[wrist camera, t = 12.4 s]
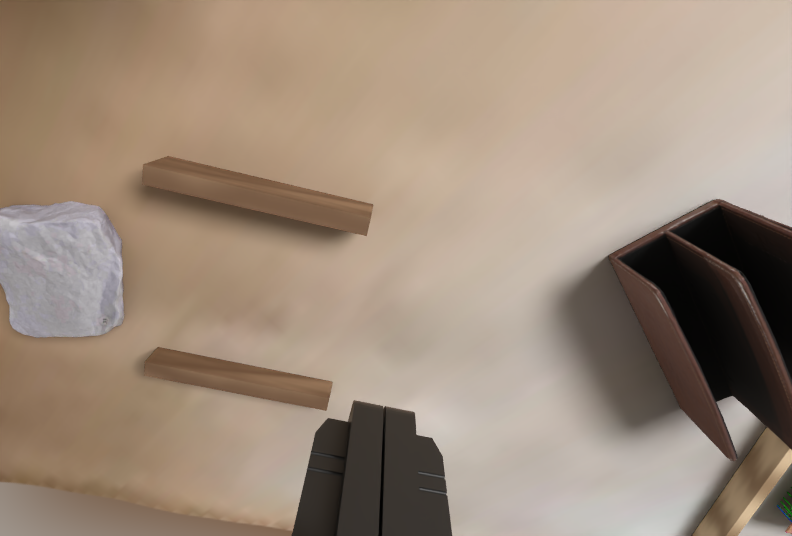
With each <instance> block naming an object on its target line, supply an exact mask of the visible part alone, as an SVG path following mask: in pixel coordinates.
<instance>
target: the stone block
mask: <svg viewBox="0 0 792 536" xmlns="http://www.w3.org/2000/svg"><path fill="white" fill-rule="evenodd" d="M122 267H123V263H122V239H121V238H120V237H119V236H118V234H117V232H116V230H115V228H114V226H113V225H112V223H111V222H110V220H109V218H108V216H107V215H106V214H105V212H104V211H103V210H102V209H101V208H100V207H99V206H95V205H88V204H83V203H79V202H73V201H69V202H65V203H59V204H57V203H55V204H52V205H50V206H41V205H12V206H10V207H5V208H0V284H1V285H2V287H3V289H4V291H5V293H6V299H7V302H8V304H9V306H10V317H9V320H10V324H11V326H12V328H13V329H15V330H16V331H18V332H20V333H22V334H24V335H29V336H34V337H38V338H39V337H83V336H97V335H102V334H105V333H107V332H109V331H110V330H112V329H113V328H114V327H116V326H120V325H121V324H122V322H123V319H124V305H123V291H124V290H123V281H122V278H123V270H122Z"/></svg>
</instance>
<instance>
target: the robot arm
mask: <svg viewBox="0 0 792 536" xmlns="http://www.w3.org/2000/svg"><path fill="white" fill-rule="evenodd" d="M444 477H445V473H444V465H443V456H442V455H441V453H440V451H439V449H438V448H437V446H436V444H435V442H434V441H433V439H432V438H429V437H424V436H418V435H416V422H415V413H414V412H411V411H406V410H401V409H396V408H391V407H386V406H385V407H384V409H383V406H380V405H375V404H370V403H365V402H360V401H355V400H354V401H353V404H352V408H351V412H350V416H349V420H348V422H345V421H340V420H335V419H330V418H328V419H327V420H326V421H325V422H324V423H323V425H322V426H321V427H320V428H319V429H318V430H317V431H316V433H315V438H314V442H313V446H312V451H311V455H310V459H309V464H308V468H307V472H306V477H305V481H304V486H303V490H302V494H301V499H300V503H299V507H298V512H297V516H296V520H295V525H294V529H293V533H292V536H452V531H451V522H450V514H449V506H448V498H447V496H446V493H447V489H446V481H445V479H444Z"/></svg>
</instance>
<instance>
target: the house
mask: <svg viewBox="0 0 792 536" xmlns="http://www.w3.org/2000/svg"><path fill="white" fill-rule="evenodd" d="M791 488H792V487H791ZM787 493H788V492H787ZM788 494H789V493H788ZM789 495H790V494H789ZM790 496H791V495H790ZM791 497H792V496H791ZM783 498H784V497H783ZM784 499H785V498H784ZM785 500H786V499H785ZM780 502H781V501H780ZM786 502H787V503H788V504H789V505H790V506H791V507H792V505H791V504H790V503H789V502H788V501H787V500H786ZM781 503H782V502H781ZM782 504H783V503H782ZM783 505H784V504H783ZM777 507H778V508H779V509H780V510H781V511H782V512H783V514H784V515H785V516H786V517H787V518H788V519H789V520H790V521H791V522H792V520H791V518H790V517H792V512H791V510H792V508H790V509H791V510H789V509H788V508H787V507H786V506H785V505H784V508H785V509H786V510H787V511H788V513H790V514H791V516H788V513H787V514H786V513H785V512H784V511H783V510H782V508H781V507H780V506H779V505H777ZM785 532H786V533H791V534H792V523H791V524H790V526H789V527H788V528H787V530H786V531H785Z"/></svg>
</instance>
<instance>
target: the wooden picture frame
mask: <svg viewBox="0 0 792 536" xmlns="http://www.w3.org/2000/svg"><path fill="white" fill-rule="evenodd" d="M791 463H792V450H791V449H790V448H789V447H788V446H787V445H786V444H785V443H784V442H783V441H782V440H781V439H780V438H778V437H777V436H776V435H775V434H774V433H773V432H772V431H771V430H770V429H769V428H768V427H767V428H766V429H765V430H764V432H763V433H762V435H761V436H760V438H759V439H758V441H757V442H756V443H755V445H754V446H753V448H752V449H751V451H750V452H749V454H748V455H747V456H746V458H745V459H744V461H743V462H742V464H741V465H740V467H739V468H738V469H737V471H736V472H735V474H734V475H733V477H732V478H731V480H730V481H729V482H728V484H727V485H726V487H725V488H724V490H723V491H722V493H721V494H720V496H719V497H718V498H717V500H716V501H715V503H714V504H713V506H712V507H711V509H710V510H709V511H708V513H707V514H706V516H705V517H704V519H703V520H702V522H701V523H700V524H699V526H698V527H697V529H696V530H695V532H694V533H693V535H692V536H738V534H739V533H740V532H741V530H742V529H743V528H744V526H745V525H746V524H747V522H748V521H749V520H750V518H751V517H752V516H753V514H754V513H755V512H756V510H757V509H758V508H759V506H760V505H761V504H762V502H763V501H764V499H765V498H766V497H767V495H768V494H769V493H770V491H771V490H772V489H773V487H774V486H775V485H776V483H777V482H778V481H779V479H780V478H781V477H782V475H783V474H784V473H785V471H786V470H787V469H788V467H789V466H790V465H791Z"/></svg>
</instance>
